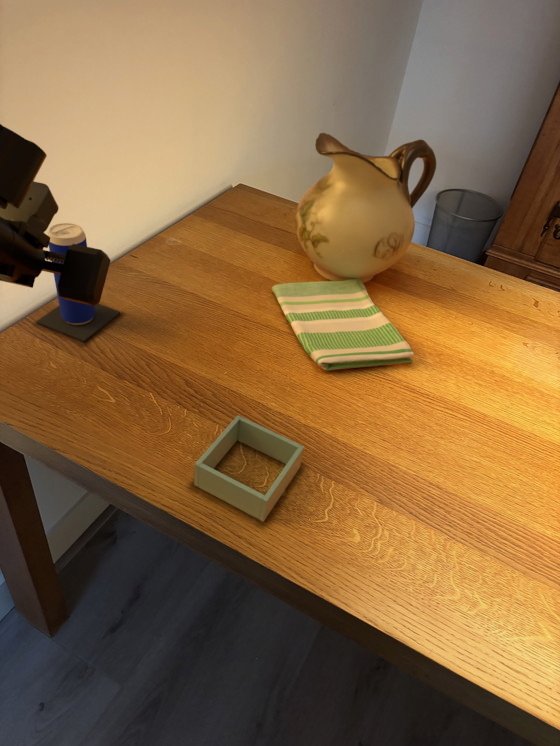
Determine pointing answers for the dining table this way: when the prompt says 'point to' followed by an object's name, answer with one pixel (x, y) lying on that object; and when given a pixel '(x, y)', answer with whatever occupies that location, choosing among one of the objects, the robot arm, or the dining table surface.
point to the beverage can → (59, 243)
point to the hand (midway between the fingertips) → (58, 280)
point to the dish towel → (341, 325)
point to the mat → (79, 331)
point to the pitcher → (361, 209)
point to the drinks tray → (235, 490)
